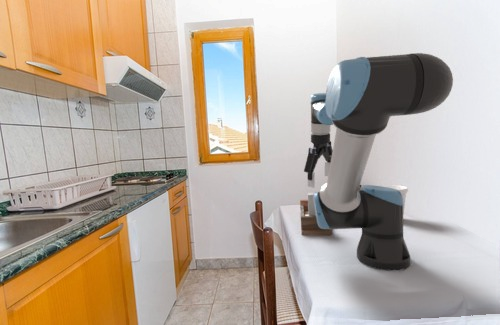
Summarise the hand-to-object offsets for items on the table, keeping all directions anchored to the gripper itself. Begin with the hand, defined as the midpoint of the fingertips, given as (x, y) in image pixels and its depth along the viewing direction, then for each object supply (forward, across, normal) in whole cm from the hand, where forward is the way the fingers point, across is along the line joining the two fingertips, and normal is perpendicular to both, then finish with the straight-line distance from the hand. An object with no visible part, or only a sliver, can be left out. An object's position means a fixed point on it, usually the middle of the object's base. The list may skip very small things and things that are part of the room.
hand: (319, 181), depth 110 cm
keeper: (+19, +5, +1) cm, 20 cm away
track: (+24, -3, -5) cm, 24 cm away
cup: (+24, -26, +23) cm, 42 cm away
